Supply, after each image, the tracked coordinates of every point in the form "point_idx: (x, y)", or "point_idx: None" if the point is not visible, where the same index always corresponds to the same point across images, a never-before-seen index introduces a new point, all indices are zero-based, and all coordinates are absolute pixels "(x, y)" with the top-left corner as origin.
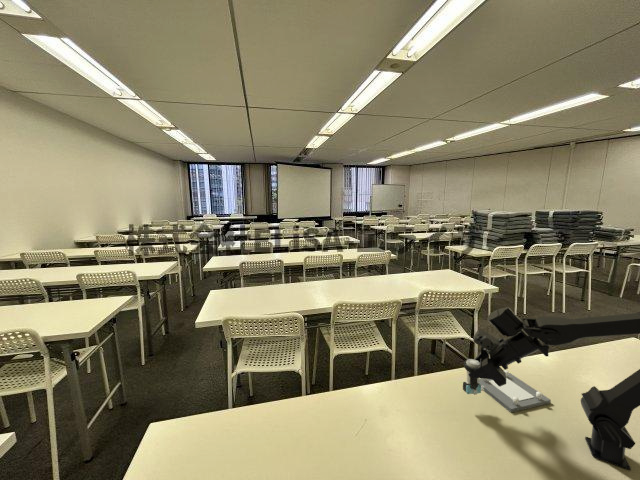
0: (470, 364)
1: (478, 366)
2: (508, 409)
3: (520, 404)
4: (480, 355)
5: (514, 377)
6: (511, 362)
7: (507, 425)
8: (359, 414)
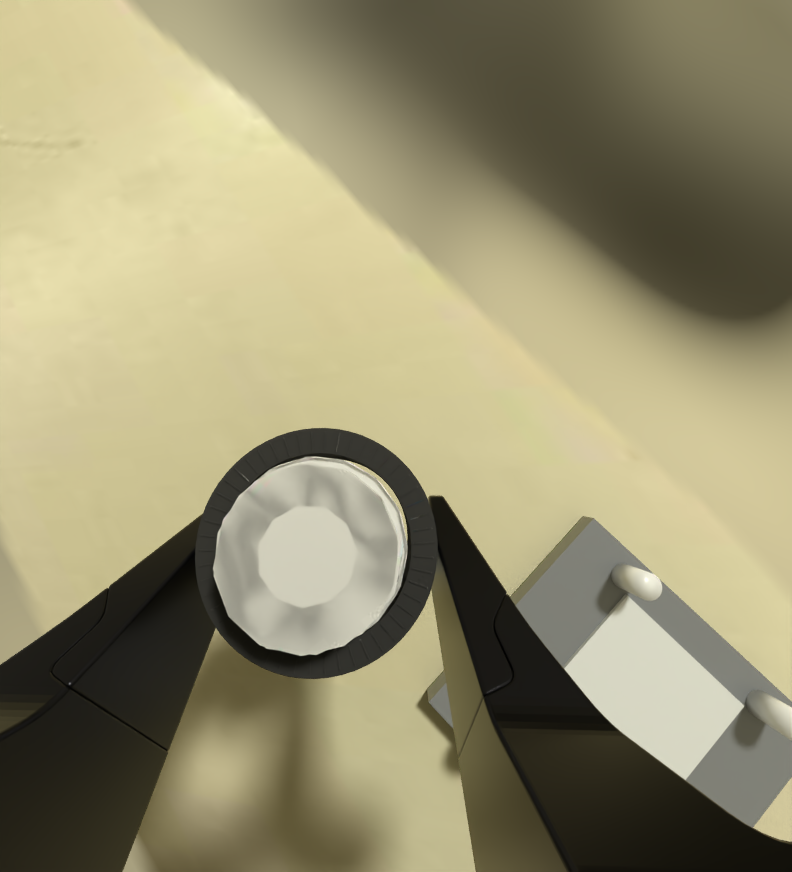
0: (232, 516)
1: (79, 653)
2: (435, 683)
3: None
4: (485, 698)
5: (784, 757)
6: None
7: None
8: (89, 116)
